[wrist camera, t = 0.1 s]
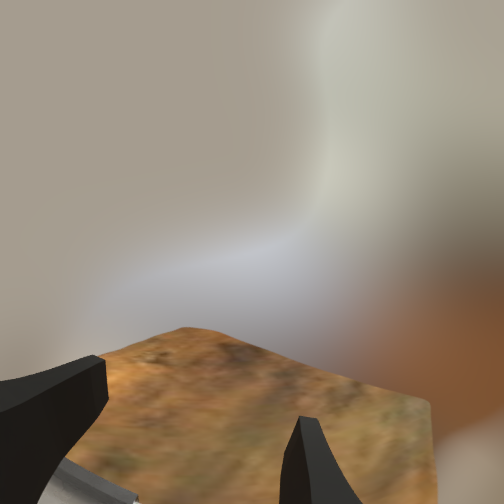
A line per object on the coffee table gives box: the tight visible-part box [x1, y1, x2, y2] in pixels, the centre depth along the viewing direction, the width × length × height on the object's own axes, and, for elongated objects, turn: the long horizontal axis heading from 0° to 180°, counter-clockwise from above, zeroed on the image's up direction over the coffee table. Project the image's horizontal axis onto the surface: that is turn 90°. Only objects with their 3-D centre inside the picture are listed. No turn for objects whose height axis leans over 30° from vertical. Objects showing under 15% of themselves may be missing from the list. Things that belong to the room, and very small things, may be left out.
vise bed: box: [37, 457, 140, 504], centre depth 14 cm, size 13×19×4 cm
